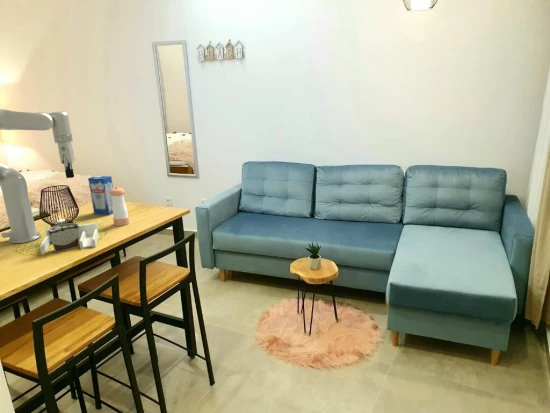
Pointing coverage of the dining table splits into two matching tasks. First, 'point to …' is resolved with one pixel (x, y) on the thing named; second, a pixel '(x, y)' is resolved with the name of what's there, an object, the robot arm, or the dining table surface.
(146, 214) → the dining table surface
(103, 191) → the milk carton
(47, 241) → the rack
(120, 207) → the pepper shaker
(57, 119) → the robot arm
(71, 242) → the food container
